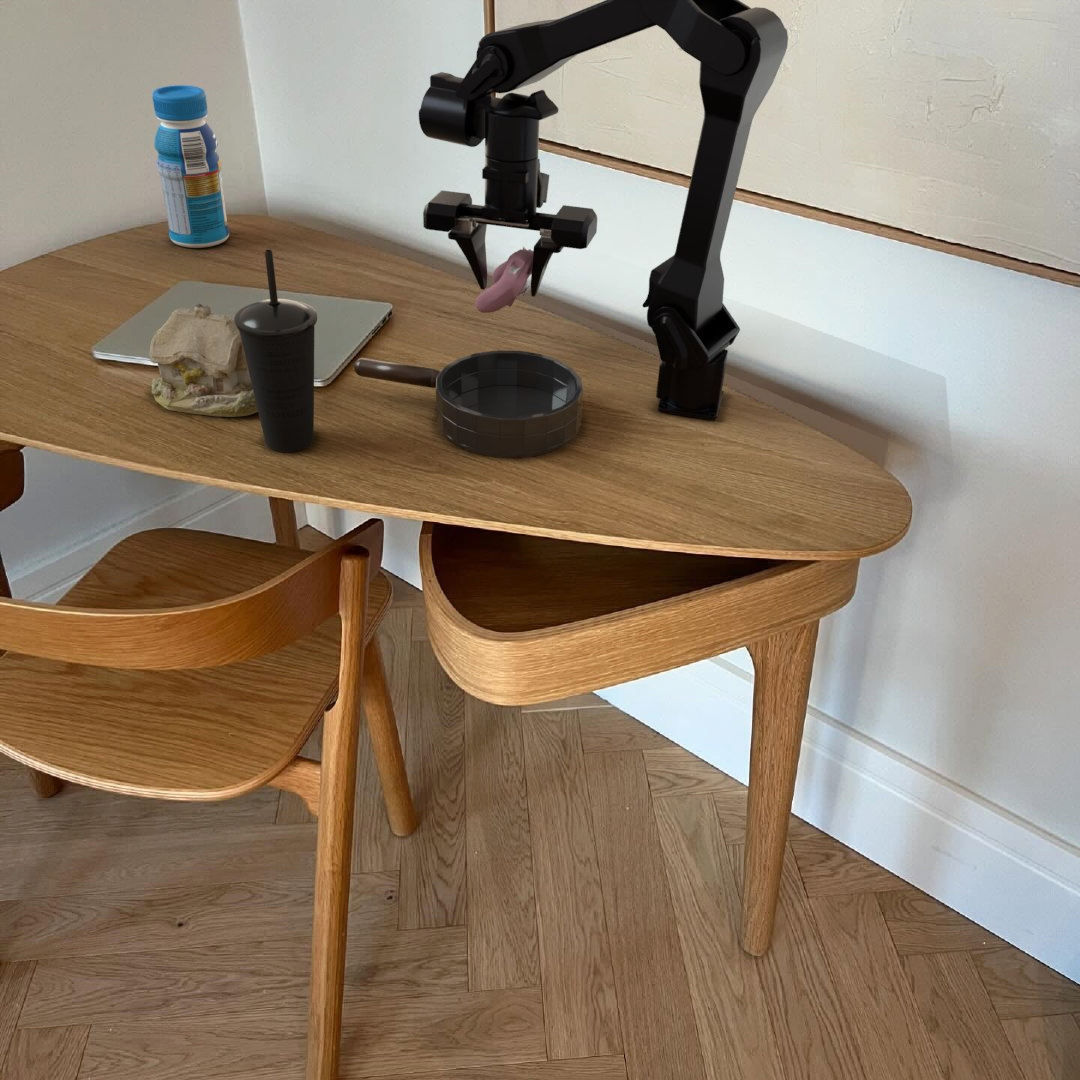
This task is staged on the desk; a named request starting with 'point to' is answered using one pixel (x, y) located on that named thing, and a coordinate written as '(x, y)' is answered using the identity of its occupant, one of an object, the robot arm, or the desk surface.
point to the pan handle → (396, 372)
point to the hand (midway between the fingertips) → (509, 291)
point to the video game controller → (507, 282)
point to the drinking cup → (281, 365)
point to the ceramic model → (201, 365)
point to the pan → (508, 403)
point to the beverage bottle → (189, 168)
